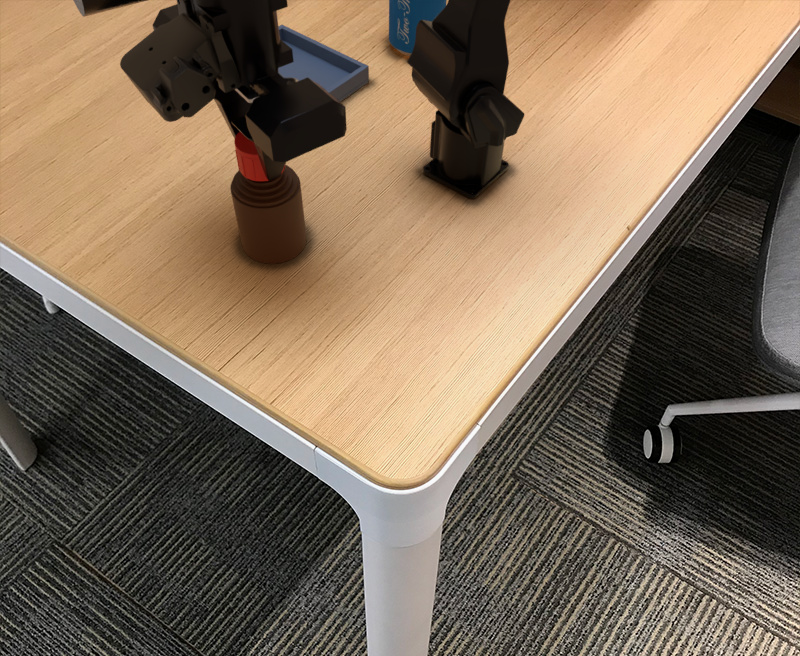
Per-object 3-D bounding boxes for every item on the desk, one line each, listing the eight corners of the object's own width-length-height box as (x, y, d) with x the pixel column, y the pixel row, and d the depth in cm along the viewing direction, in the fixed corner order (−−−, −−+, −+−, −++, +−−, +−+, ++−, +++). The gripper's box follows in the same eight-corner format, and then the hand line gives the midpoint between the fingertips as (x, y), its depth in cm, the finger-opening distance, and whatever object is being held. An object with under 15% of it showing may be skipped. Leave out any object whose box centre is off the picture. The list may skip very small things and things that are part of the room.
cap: (238, 182, 63) (233, 155, 61) (240, 152, 65) (235, 125, 63) (285, 180, 64) (281, 153, 61) (285, 151, 66) (282, 124, 64)
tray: (369, 82, 86) (368, 65, 85) (301, 129, 81) (299, 112, 80) (283, 40, 91) (281, 24, 89) (214, 82, 86) (211, 65, 84)
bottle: (319, 237, 72) (311, 143, 63) (275, 273, 69) (260, 181, 61) (273, 209, 74) (258, 115, 65) (228, 243, 71) (206, 150, 63)
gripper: (59, -47, 53) (123, 144, 66) (187, 81, 45) (232, 271, 57) (203, -89, 57) (236, 99, 70) (345, 21, 48) (354, 212, 61)
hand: (260, 165), depth 64 cm, fingers closed on cap, 4 cm apart
